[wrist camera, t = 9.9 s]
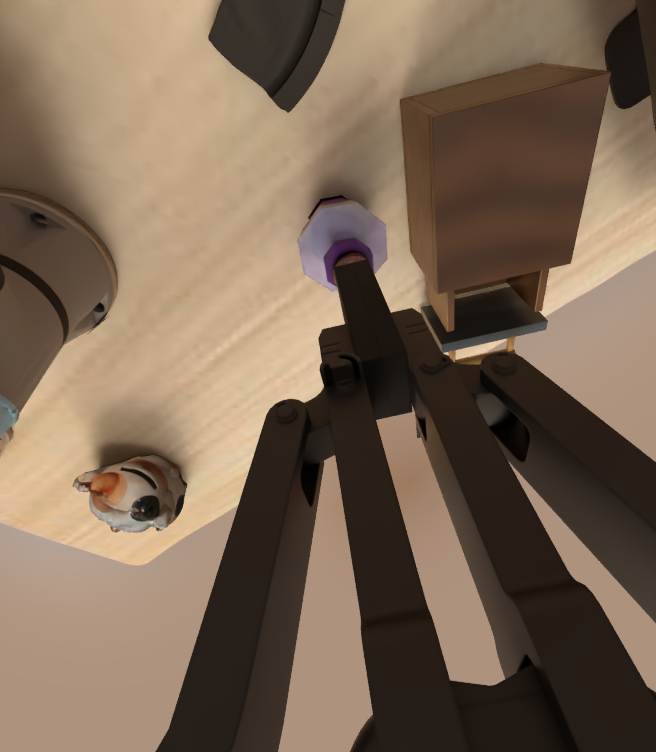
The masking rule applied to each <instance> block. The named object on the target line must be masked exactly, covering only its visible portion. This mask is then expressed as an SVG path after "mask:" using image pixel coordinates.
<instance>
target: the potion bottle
mask: <svg viewBox="0 0 656 752" xmlns="http://www.w3.org/2000/svg"><path fill="white" fill-rule="evenodd" d="M308 218H309V221H308V222H307V224H306V225H305V227H304V228H303V230H302V232H301V234H300V236H299V239H298V245H299V250H300V255H301V260H302V265H303V270H304V274H305V275H306V276H308V277H310V278H311V279H313V280H315V281H316V282H318V283H319V284H321V285H323V286H324V287H326V288H327V289H329V290H331V291H337V290H338V287H337V282H336V277H335V272H334V267H336V266H340V265H344V264H349V263H353V262H357V261H361V260H366V259H368V261H369V263H370V266H371V268H372V270H373V273H374V274H375V273H376V272H377V270H378V269H379V268H380V267H381V266H382V264H383V263H384V262H385V261H386V260H387V242H386V224H385V223H383V222H382V221H381V220H380V219H378V218H377V217H376V216H374V215H373V214H372V213H371V212H369V211H368V210H367V209H365V208H364V207H363V206H361V205H360V204H359V203H358V202H356V201H353V200H351V199H346V198H345V197H344V196H342V195H340V196H335V197H329V198H324V199H320V201H319V202H318V204H317V205H316V207H315V208H314V210H313V211H312V213H311V214H310V216H309V217H308Z"/></svg>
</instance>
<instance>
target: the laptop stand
mask: <svg viewBox="0 0 656 752" xmlns="http://www.w3.org/2000/svg"><path fill="white" fill-rule="evenodd" d="M636 2H637V9H638V10H637V11H635V12H634V13H633V14H632V15H630V16H629V17H628V18H627V19H626V20H625V21H623V22H622V23H621V24H620V25H619V26H618V27H616V28H615V29H614V31H613V32H612V33H611V34H610V36H609V38H608V40H607V42H606V45H605V61H606V67H607V71H611V77H610V86H611V91H612V95H613V99H614V102H615V104H616V105H617V107H619V108H621V109H627V108H630V107H632V106H634V105H635V104H637V103H638V102H640V101H642V100H643V99H645V98H646V97H648V96H649V95H651V100H652V109H653V118H654V125H655V130H656V0H636Z"/></svg>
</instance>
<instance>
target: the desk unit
mask: <svg viewBox="0 0 656 752" xmlns="http://www.w3.org/2000/svg"><path fill="white" fill-rule="evenodd" d="M610 77H611V71H603V70H595V69H587V68H579V67H571V66H562V65H554V64H545V63H540V64H536V65H532V66H528V67H524V68H520V69H516V70H513V71H509V72H505V73H501V74H497V75H493V76H489V77H485V78H482V79H478V80H474V81H470V82H466V83H462V84H458V85H455V86H451V87H447V88H443V89H439V90H435V91H431V92H428V93H424V94H420V95H416V96H412V97H408V98H404V99H401V100H400V108H401V122H402V136H403V151H404V165H405V180H406V194H407V208H408V223H409V237H410V251H411V254H412V255H413V257H414V259H415V260H416V262H417V263H418V265H419V267H420V268H421V270H422V271H423V273H424V274H425V276H426V278H427V279H428V281H429V282H430V284H431V286H432V287H433V289H434V290H435V292H436V294H442V293H446V292H450V291H454V290H459V289H463V288H467V287H472V286H476V285H480V284H485V283H489V282H493V281H497V280H502V279H506V278H510V277H515V276H519V275H523V274H528V273H532V272H536V271H540V270H545V269H549V268H553V267H558V266H562V265H566V264H570V263H571V260H572V255H573V250H574V246H575V241H576V236H577V232H578V227H579V222H580V218H581V213H582V208H583V203H584V199H585V194H586V189H587V185H588V180H589V175H590V171H591V166H592V161H593V157H594V152H595V147H596V142H597V138H598V133H599V128H600V124H601V119H602V114H603V110H604V105H605V100H606V96H607V91H608V86H609V82H610Z"/></svg>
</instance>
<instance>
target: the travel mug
mask: <svg viewBox="0 0 656 752" xmlns="http://www.w3.org/2000/svg"><path fill="white" fill-rule="evenodd" d="M12 437H13V432H12V430H11V428H10V427H9V429H8V430H7V431H6V432H5V433H4V435H3V436H2V437H1V438H0V456H1V455H2V453H3V452H4V450H5V448H6V446H7V445H8V444H9V442H10V441H11V439H12Z"/></svg>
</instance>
